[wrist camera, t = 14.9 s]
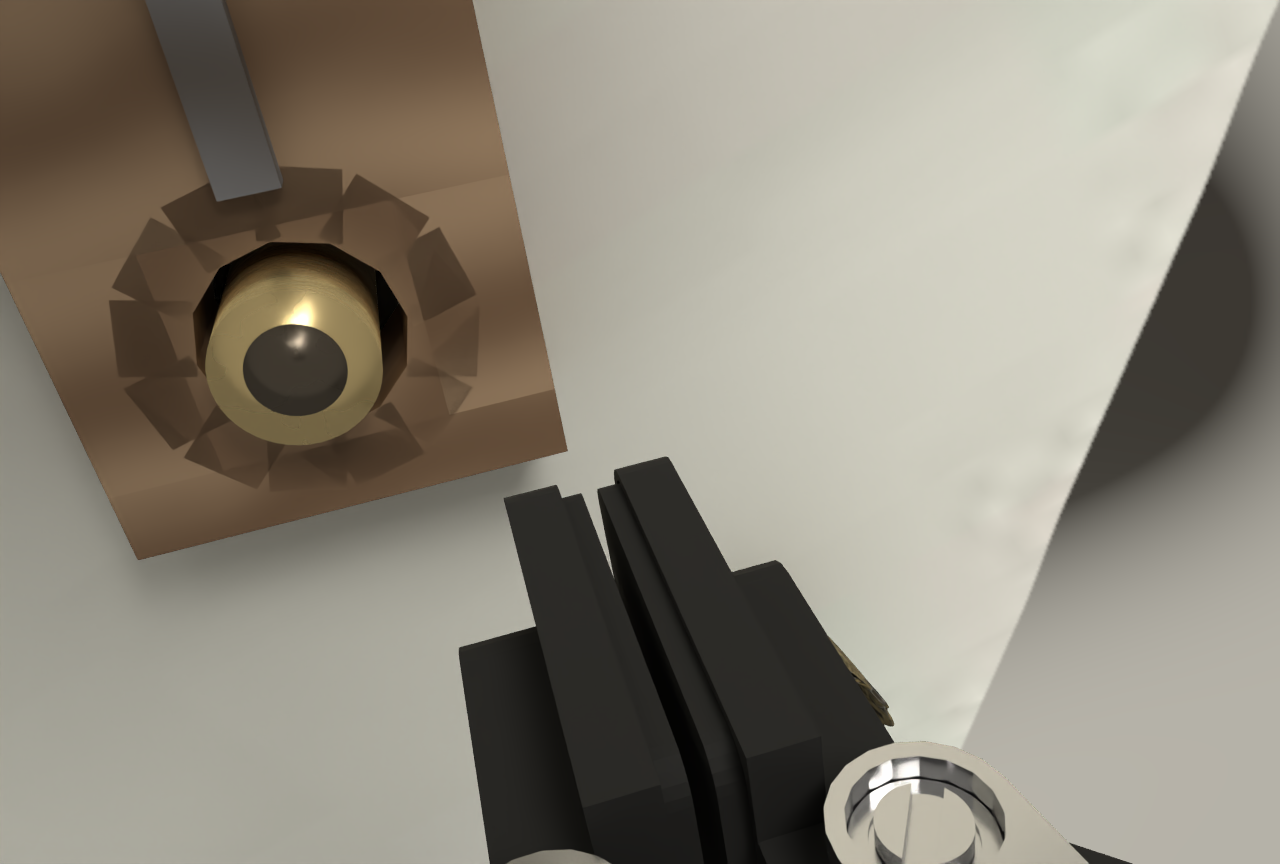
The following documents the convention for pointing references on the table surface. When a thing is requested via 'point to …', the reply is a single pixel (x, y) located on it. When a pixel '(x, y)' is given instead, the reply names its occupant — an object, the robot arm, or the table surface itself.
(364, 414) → the cylinder
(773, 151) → the table surface
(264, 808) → the table surface
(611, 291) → the table surface
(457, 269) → the jig
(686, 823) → the robot arm
